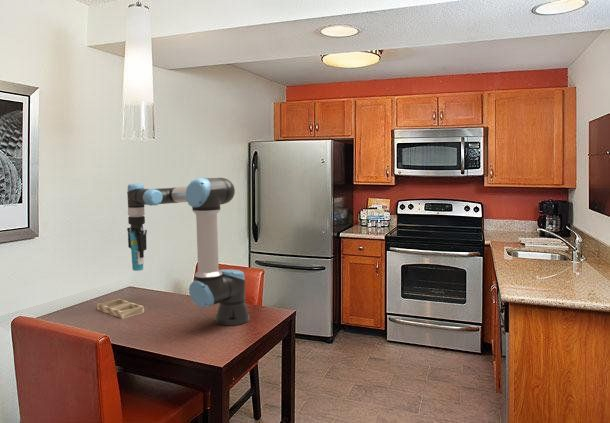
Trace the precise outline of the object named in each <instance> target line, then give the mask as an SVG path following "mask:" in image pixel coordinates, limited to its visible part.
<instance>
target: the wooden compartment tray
mask: <svg viewBox="0 0 610 423" xmlns="http://www.w3.org/2000/svg"><path fill="white" fill-rule="evenodd" d="M96 307H97V308H96V309H97V311H99V312H102V313H105V314H108V315H110V316H114V317H116V318H118V319H121V320H122V319H126V318H129V317H130V318H131V317H133V316H137V315H140V314H143V313H145V306H144V305H142V304H141V305H140V304H138V303H134V302H131V301H127V300H124V299H122V298H116V299H112V300H107V301H103V302H99V303H97V305H96Z"/></svg>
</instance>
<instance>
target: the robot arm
mask: <svg viewBox="0 0 610 423" xmlns="http://www.w3.org/2000/svg"><path fill="white" fill-rule="evenodd" d="M235 189H236V188H235V185H234V184H233V183H232V181H230V180H229V179H228V178H224V177H201V178H195V179H193V180H191V181H190V183H188V185H187V186H177V187H166V188H165V187H164V188H145V186H144V184H142V183H129V184H128V185H127V191H126V193H127V215H128V218H127V220H128V222H127V224H128V225H130V227H127V229H126V231H127V242H128V248H130V250H131V241H130V234H129V232H135V237H136V238H137V243H138V249H139V250H137V251H138V265H140V264H143V265H144V261H145V260H144V259H145V255H144V252H145V251H146V250H147V249H148V248H147V234H148V233H147V232H148V230H147V229H144V227H143V225H145V223H146V222H145V221H146V219H145V218H146V217H145V214H146V213H145V206H150V207H151V206H158V205H165V204H167V205H169V204H178V203H187V204H188V206H190V207H191V210H192V212H193V213H194V214H195V215H196V218H195V219H196V221H195V222H196V246H197V248H196V249H197V251H196V252H197V271H196V272H195V274H194V280H193V281H192V282H191V283H190V285H189V287H188V291H189V296H190V298H191V300H192V302H193V303H194V304H195V305H196V306H198V307H200V308H207V307H211V306H214V305H217V304H218V307H217V311H216V314H215V323H217V324H218V325H221V326H239V325H243V324H246V323H247V322H249V321H250V312H248V308H247V305H246V279H245V273H244V272H243V271H242V270H238V269H229V268H228V269H220V268H219V245H218V244H219V240H218V239H219V238H218V237H219V236H218V213H219V212H220V211H221V205H225V204H228V203H230V202H231V201H232V200H233V198H234V197H235V194H236V190H235ZM138 235H139V236H138ZM130 253H131V256H132V252H130Z"/></svg>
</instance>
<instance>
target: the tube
mask: <svg viewBox="0 0 610 423" xmlns="http://www.w3.org/2000/svg"><path fill="white" fill-rule="evenodd" d="M129 234H130V241H131V249H130V250H131V252H132V253H131V252H130V253H131V254H132V255H131V265H132V267H131V268H132V270H133V271H134V272H136V271H137V272H139V271H143V270H144V264H140V265H138V251H137V250H139V249H138V243H137V238H136V237H135V232H129ZM138 236H139V235H138Z"/></svg>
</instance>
